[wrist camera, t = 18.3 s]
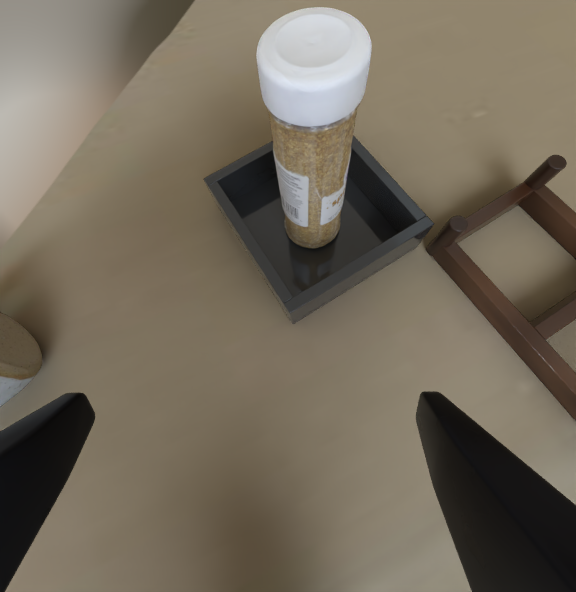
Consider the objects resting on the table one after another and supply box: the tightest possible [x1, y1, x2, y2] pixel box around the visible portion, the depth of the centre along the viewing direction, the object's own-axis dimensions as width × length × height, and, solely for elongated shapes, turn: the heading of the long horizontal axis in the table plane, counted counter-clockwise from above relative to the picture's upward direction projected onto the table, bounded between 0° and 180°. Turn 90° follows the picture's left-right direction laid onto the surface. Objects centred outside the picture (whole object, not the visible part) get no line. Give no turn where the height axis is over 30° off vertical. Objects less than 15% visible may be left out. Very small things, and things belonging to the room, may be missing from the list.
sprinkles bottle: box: [256, 7, 372, 248], centre depth 18 cm, size 5×5×13 cm
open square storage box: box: [204, 135, 434, 324], centre depth 23 cm, size 13×12×4 cm
